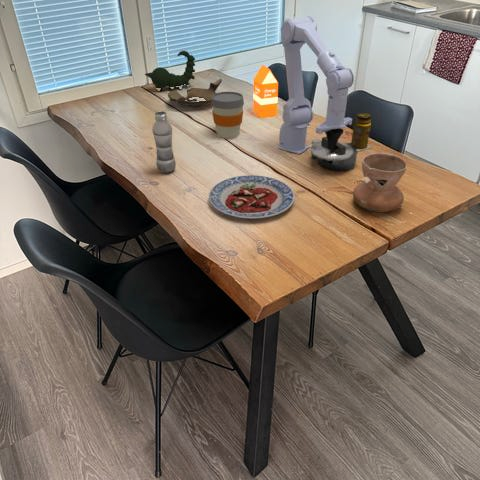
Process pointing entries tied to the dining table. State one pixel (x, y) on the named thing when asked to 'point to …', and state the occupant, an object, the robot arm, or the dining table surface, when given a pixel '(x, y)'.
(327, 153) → the cooker lid
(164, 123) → the plastic bottle
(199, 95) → the oil lamp
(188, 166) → the dining table surface
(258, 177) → the ceramic plate
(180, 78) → the toy figurine
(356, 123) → the condiment
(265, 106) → the orange juice
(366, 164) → the brown clay hourglass vessel
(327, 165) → the cooker body
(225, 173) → the dining table surface
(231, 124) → the reusable coffee cup
